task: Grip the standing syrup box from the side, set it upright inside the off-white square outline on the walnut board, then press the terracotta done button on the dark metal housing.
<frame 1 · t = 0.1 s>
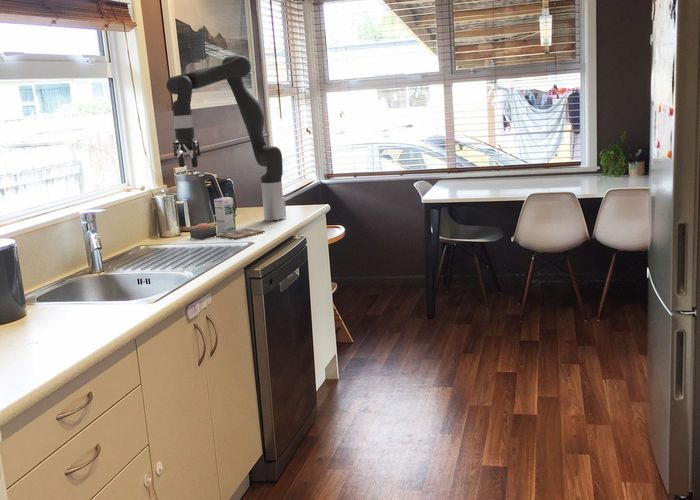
hand: (188, 167, 312), 29 cm above the worktop, tool pointing down, fingers open, 8 cm apart
button housing: (203, 237, 317), on the worktop
done button: (202, 227, 316), point 4 cm above the worktop, slide at 0.0 cm
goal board: (240, 235, 317), on the worktop
syrup box: (226, 232, 327), on the worktop
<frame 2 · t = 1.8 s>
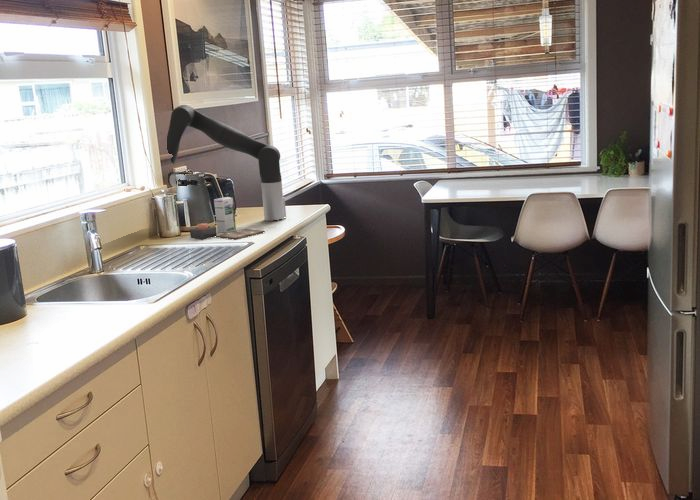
hand: (205, 181, 330), 21 cm above the worktop, tool horizontal, fingers open, 8 cm apart
nothing on the worktop moved.
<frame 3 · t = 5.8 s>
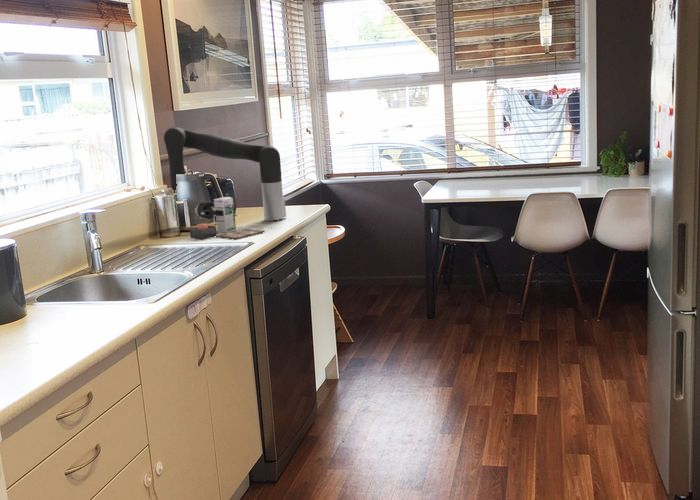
hand: (228, 212, 324), 9 cm above the worktop, tool horizontal, fingers closed on syrup box, 6 cm apart
syrup box: (226, 231, 327), on the worktop, touching gripper
everything else where it was.
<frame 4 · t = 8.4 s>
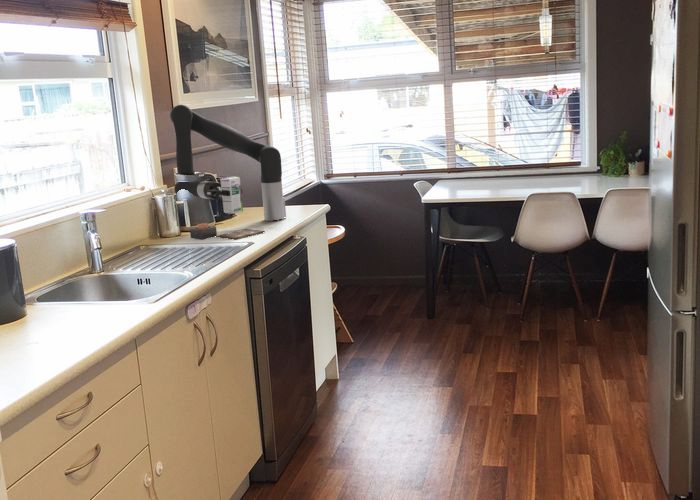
hand: (235, 192, 315), 18 cm above the worktop, tool horizontal, fingers closed on syrup box, 6 cm apart
syrup box: (233, 212, 318), point 9 cm above the worktop, touching gripper
everything else where it was.
when the fingers open (11 cm above the worktop, at t = 10.6 s): syrup box drops 1 cm, resting on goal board.
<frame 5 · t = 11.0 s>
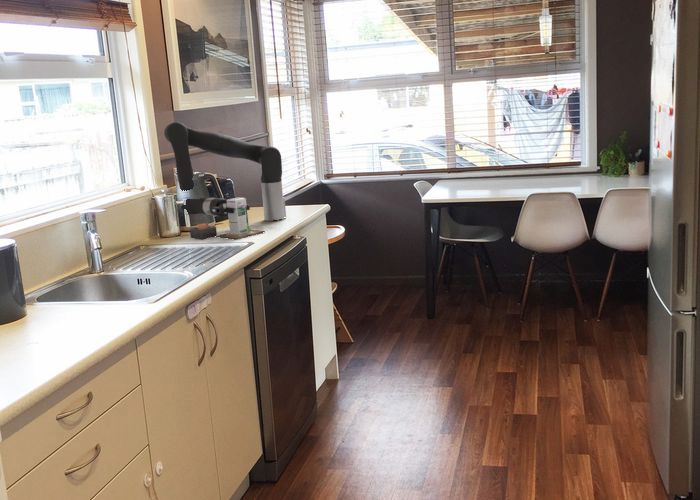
hand: (241, 209, 313), 11 cm above the worktop, tool horizontal, fingers open, 8 cm apart
syrup box: (239, 233, 317), point 1 cm above the worktop, touching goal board
everything else where it was.
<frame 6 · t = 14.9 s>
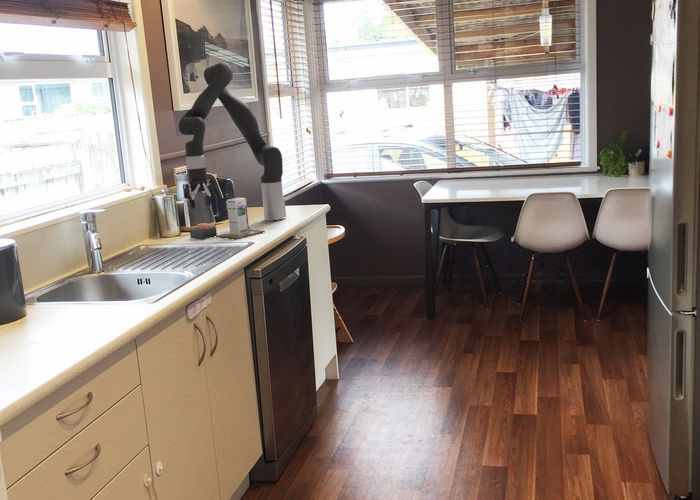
hand: (200, 207, 315), 13 cm above the worktop, tool pointing down, fingers open, 7 cm apart
nothing on the worktop moved.
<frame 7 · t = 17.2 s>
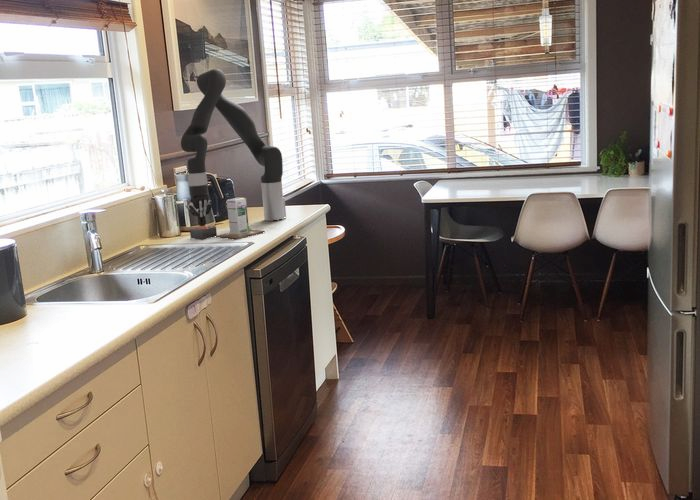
hand: (202, 225, 316), 5 cm above the worktop, tool pointing down, fingers closed
done button: (203, 229, 316), point 3 cm above the worktop, slide at 0.6 cm, touching gripper
everything else where it was.
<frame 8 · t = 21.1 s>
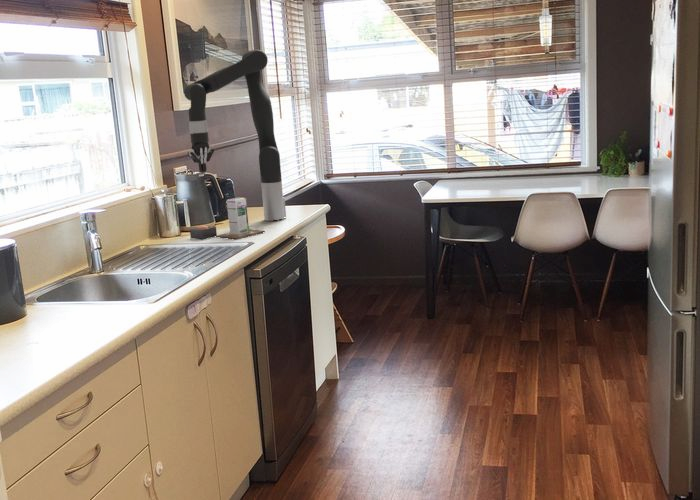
hand: (203, 172, 330), 25 cm above the worktop, tool pointing down, fingers closed
done button: (203, 230, 316), point 3 cm above the worktop, slide at 1.0 cm
everything else where it was.
at the end: syrup box inside the target area on the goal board (0.4 cm from its centre), point 0.6 cm above the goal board's base; syrup box tilted 0°; done button slide at 1.0 cm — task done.
